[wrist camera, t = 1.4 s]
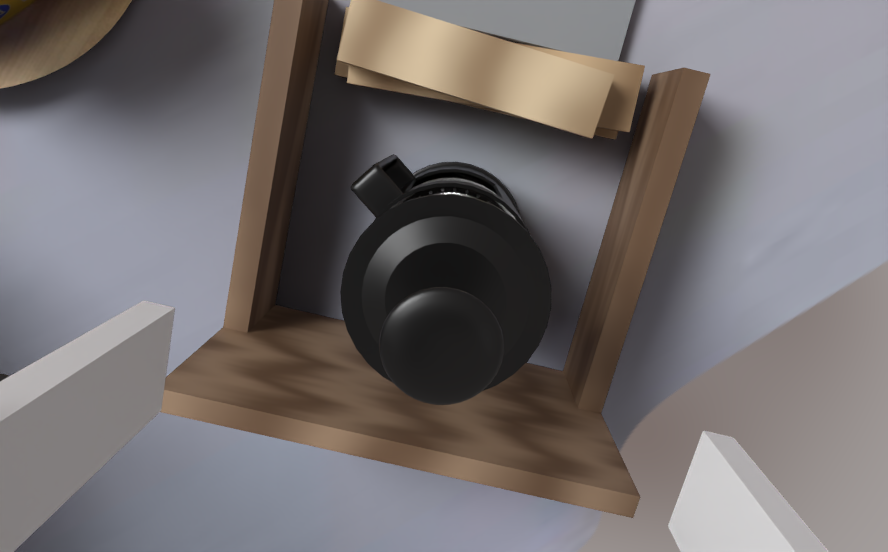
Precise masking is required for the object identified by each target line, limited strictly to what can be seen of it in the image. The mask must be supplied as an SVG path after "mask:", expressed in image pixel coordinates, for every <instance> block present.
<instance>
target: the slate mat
mask: <svg viewBox="0 0 888 552" xmlns="http://www.w3.org/2000/svg"><path fill="white" fill-rule="evenodd" d="M378 1H381V2H384V3H388V4H391V5H394V6H397V7H400V8H404V9H407V10H410V11H413V12H416V13H419V14H423V15H426V16H429V17H432V18H435V19H439V20H442V21H445V22H448V23H451V24H455V25H458V26H461V27H464V28H467V29H470V30H474V31H477V32H480V33H484V34H488V35H492V36H496V37H500V38H504V39H508V40H512V41H516V42H520V43H524V44H528V45H532V46H536V47H541V48H546V49H552V50H558V51H563V52H569V53H575V54H580V55H586V56H592V57H597V58H603V59H609V60H614V61H618V60H619V57H620V53H621V50H622V46H623V43H624V39H625V36H626V32H627V29H628V25H629V22H630V18H631V15H632V11H633V8H634V4H635V1H636V0H378Z"/></svg>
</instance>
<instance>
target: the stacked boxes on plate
mask: <svg viewBox="0 0 888 552" xmlns="http://www.w3.org/2000/svg"><path fill="white" fill-rule="evenodd" d="M131 1H132V0H0V88H5V87H11V86H15V85H19V84H23V83H26V82H29V81H32V80H35V79H38V78H41V77H43V76H46V75H48V74H50V73H52V72H54V71H57V70H59V69H61V68H63V67H64V66H66V65H68V64H70V63H71V62H73V61H74V60H76V59H77V58H79V57H80V56H82V55H83V54H84V53H86V52H87V51H88V50H90V49H91V48H92V47H93V46H94V45H96V44H97V43H98V42H99V41H100V40H101V39H102V38H103V37H104V36H105V35H106V34H107V33H108V32H109V31H110V30H111V29H112V27H113V26H114V25H115V24H116V23H117V21H118V20H119V19H120V18H121V16H122V15H123V13H124V12H125V10H126V9H127V7H128V6H129V4H130V3H131Z"/></svg>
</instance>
